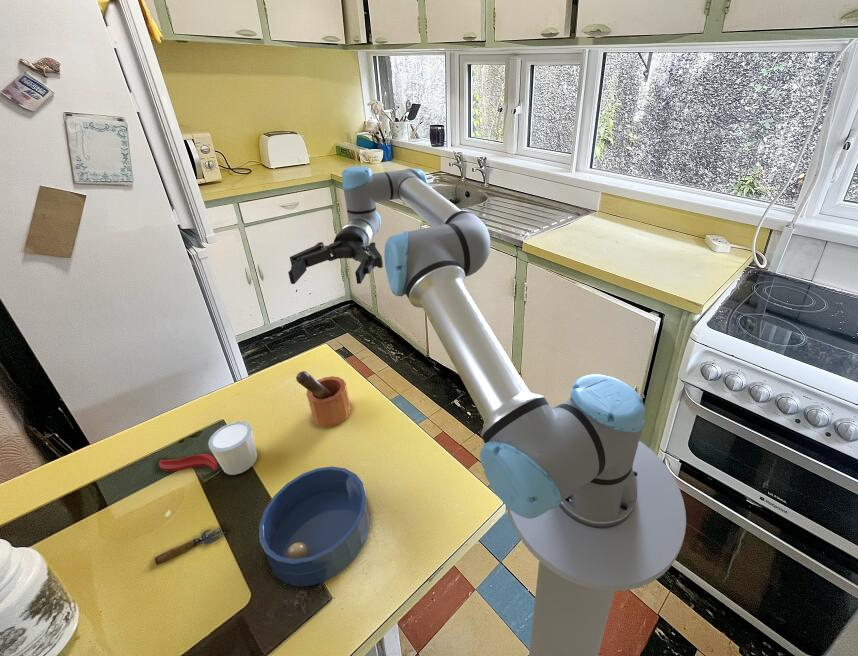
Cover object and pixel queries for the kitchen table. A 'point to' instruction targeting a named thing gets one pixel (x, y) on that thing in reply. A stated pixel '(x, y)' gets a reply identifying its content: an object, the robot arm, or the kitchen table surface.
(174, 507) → the kitchen table surface
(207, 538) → the can opener
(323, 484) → the bowl
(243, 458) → the white cup
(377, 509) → the kitchen table surface
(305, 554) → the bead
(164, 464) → the cayenne pepper
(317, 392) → the stirring stick
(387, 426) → the kitchen table surface
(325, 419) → the holder
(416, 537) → the kitchen table surface
